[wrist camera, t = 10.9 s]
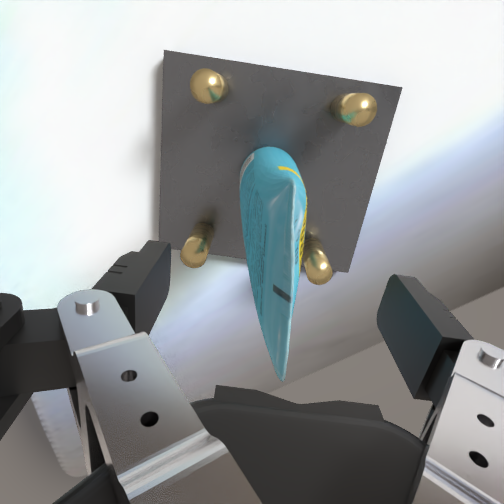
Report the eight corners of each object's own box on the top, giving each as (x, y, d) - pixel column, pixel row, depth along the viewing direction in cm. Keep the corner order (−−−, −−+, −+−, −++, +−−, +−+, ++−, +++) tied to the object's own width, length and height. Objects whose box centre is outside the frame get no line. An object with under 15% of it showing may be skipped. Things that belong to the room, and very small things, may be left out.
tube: (298, 215, 30) (351, 380, 12) (244, 218, 30) (220, 386, 13) (296, 126, 27) (363, 179, 9) (235, 130, 27) (190, 191, 10)
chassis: (395, 87, 27) (433, 85, 21) (344, 265, 34) (362, 301, 28) (168, 52, 26) (142, 39, 20) (162, 240, 33) (141, 272, 27)
